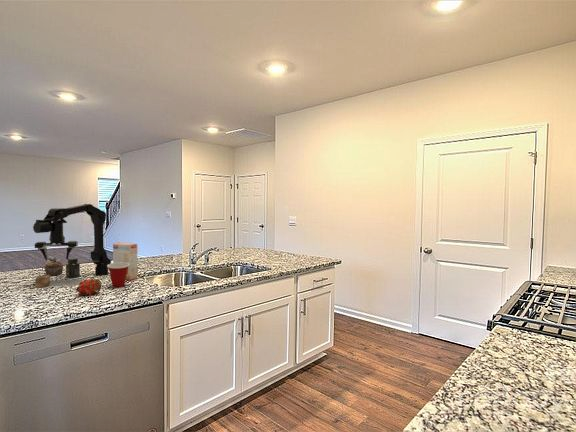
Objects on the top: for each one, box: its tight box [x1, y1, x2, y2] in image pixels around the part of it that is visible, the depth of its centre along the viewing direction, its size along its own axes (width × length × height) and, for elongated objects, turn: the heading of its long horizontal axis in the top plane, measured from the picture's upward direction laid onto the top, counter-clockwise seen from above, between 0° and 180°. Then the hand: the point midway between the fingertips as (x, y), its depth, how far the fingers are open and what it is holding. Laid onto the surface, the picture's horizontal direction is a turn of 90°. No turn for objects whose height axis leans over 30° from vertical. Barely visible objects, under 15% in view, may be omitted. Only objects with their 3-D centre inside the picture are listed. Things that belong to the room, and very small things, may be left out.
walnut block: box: [34, 274, 51, 289], centre depth 175 cm, size 5×5×5 cm
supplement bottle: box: [65, 257, 81, 280], centre depth 195 cm, size 7×7×12 cm
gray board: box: [37, 278, 85, 289], centre depth 181 cm, size 20×14×1 cm
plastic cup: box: [107, 262, 129, 288], centre depth 181 cm, size 11×11×12 cm
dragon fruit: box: [75, 277, 102, 296], centre depth 165 cm, size 8×8×12 cm
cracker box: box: [112, 242, 138, 281], centre depth 199 cm, size 14×6×21 cm, turn 65°
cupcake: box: [44, 257, 64, 277], centre depth 205 cm, size 10×10×10 cm
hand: (57, 260), depth 182 cm, fingers open, 9 cm apart
